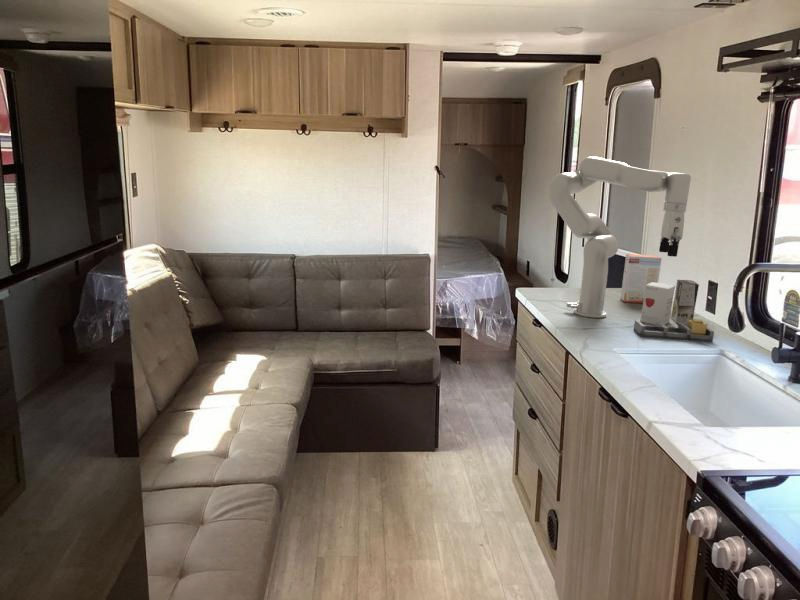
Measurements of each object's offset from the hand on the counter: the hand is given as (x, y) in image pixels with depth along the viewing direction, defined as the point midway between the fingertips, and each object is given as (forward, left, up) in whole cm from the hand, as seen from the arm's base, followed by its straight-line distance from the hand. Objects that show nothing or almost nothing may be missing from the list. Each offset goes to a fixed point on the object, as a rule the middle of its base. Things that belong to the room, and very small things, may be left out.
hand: (667, 254), depth 237 cm
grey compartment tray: (+2, -10, -28) cm, 30 cm away
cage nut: (+10, -10, -27) cm, 31 cm away
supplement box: (+2, +9, -29) cm, 30 cm away
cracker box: (+5, +45, -28) cm, 54 cm away
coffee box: (+14, +14, -28) cm, 35 cm away
